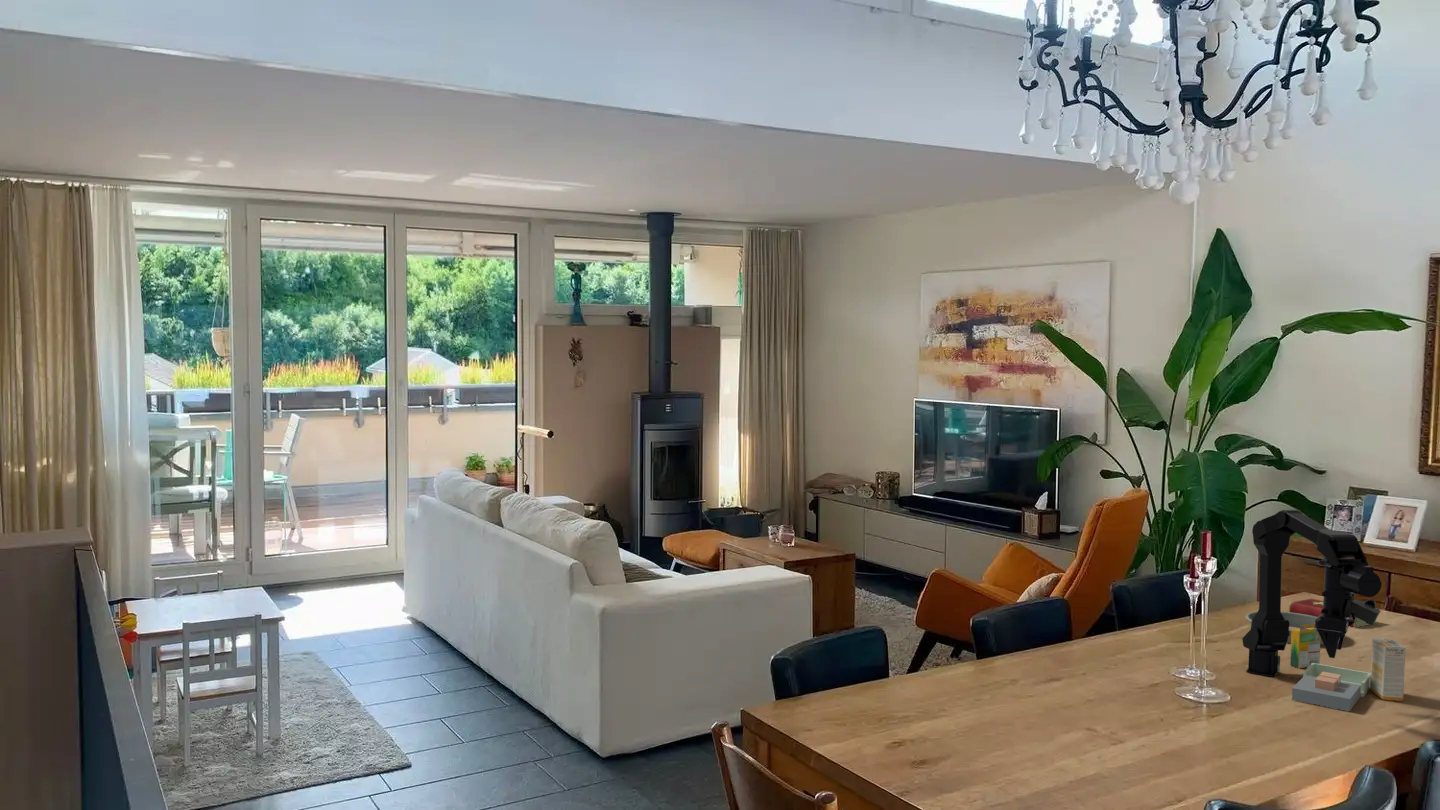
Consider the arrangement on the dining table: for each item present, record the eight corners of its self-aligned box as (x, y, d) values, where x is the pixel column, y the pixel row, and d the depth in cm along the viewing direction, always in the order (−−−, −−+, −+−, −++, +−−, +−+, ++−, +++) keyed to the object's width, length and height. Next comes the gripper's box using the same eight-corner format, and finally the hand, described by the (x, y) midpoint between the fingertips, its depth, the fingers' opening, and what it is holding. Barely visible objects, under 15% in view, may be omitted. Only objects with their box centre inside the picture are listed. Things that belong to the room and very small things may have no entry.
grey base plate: (1291, 700, 258) (1292, 688, 258) (1304, 686, 268) (1305, 674, 268) (1349, 711, 250) (1349, 699, 250) (1360, 697, 261) (1360, 684, 261)
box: (1302, 686, 269) (1302, 672, 269) (1311, 676, 277) (1312, 662, 277) (1363, 697, 260) (1363, 683, 260) (1371, 687, 269) (1371, 673, 269)
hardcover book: (1355, 629, 327) (1355, 616, 327) (1288, 614, 345) (1289, 601, 345) (1377, 624, 333) (1377, 611, 333) (1310, 610, 351) (1310, 597, 351)
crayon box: (1310, 663, 289) (1312, 620, 288) (1320, 666, 286) (1322, 623, 286) (1289, 665, 287) (1291, 622, 286) (1298, 668, 284) (1300, 625, 283)
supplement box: (1404, 701, 258) (1407, 647, 257) (1382, 700, 259) (1384, 646, 258) (1390, 691, 266) (1393, 638, 265) (1368, 689, 267) (1371, 637, 266)
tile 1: (1314, 687, 258) (1315, 679, 258) (1318, 683, 261) (1318, 675, 261) (1333, 691, 256) (1334, 682, 255) (1337, 687, 259) (1337, 679, 259)
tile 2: (1318, 683, 262) (1319, 675, 261) (1322, 679, 265) (1322, 671, 265) (1337, 686, 259) (1337, 678, 259) (1340, 682, 262) (1341, 674, 262)
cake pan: (1357, 648, 306) (1358, 632, 306) (1270, 646, 306) (1270, 630, 306) (1311, 625, 330) (1312, 611, 330) (1230, 624, 331) (1230, 609, 330)
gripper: (1372, 599, 240) (1369, 669, 241) (1383, 585, 255) (1380, 651, 256) (1316, 592, 247) (1313, 659, 248) (1329, 579, 262) (1326, 643, 262)
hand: (1335, 653), depth 253 cm, fingers open, 9 cm apart
